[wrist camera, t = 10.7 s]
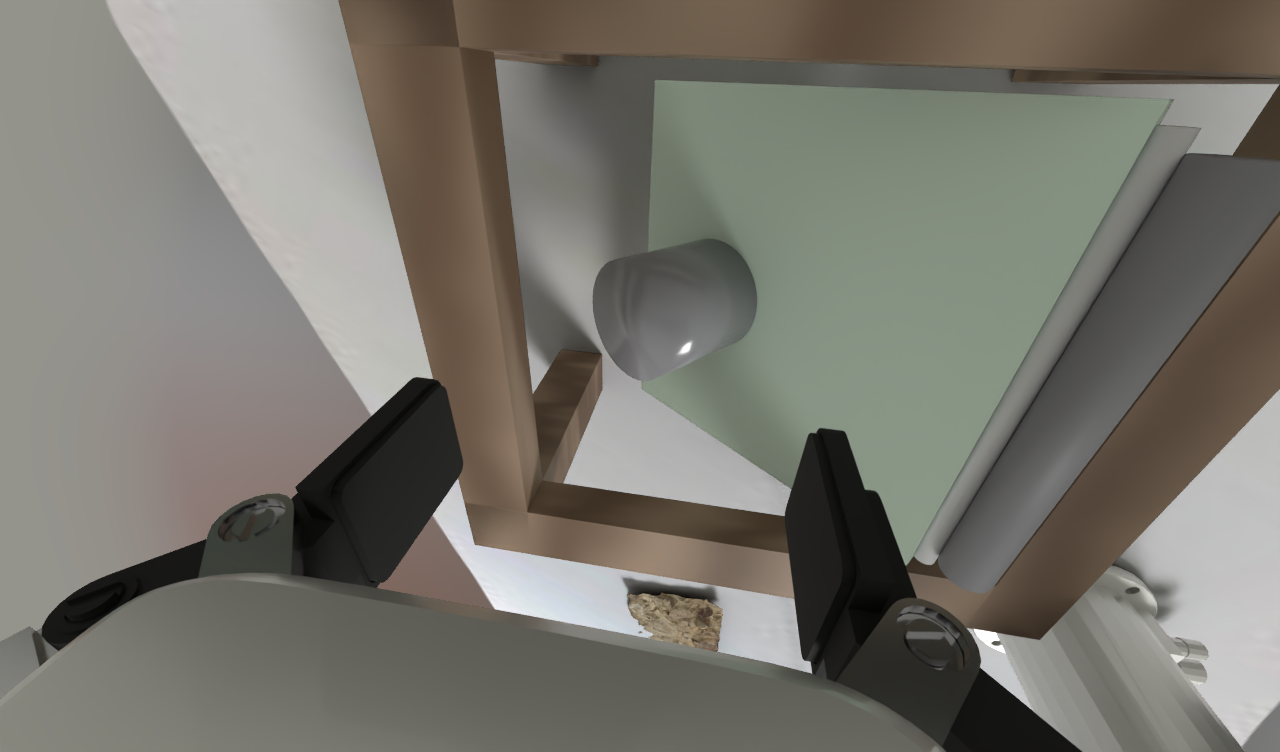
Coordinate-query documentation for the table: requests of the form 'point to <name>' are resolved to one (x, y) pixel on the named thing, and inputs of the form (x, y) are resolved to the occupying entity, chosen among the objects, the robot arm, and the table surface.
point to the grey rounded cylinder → (673, 306)
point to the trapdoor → (945, 285)
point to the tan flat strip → (678, 619)
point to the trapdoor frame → (565, 398)
